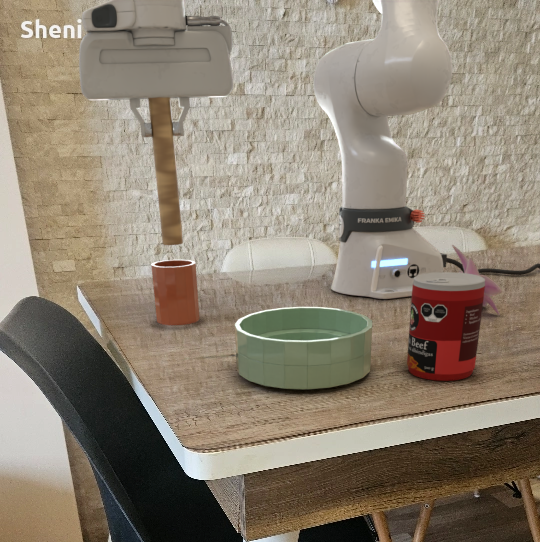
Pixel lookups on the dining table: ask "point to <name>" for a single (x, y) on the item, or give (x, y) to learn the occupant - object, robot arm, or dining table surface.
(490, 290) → the lily
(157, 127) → the stick
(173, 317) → the holder
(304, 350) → the bowl
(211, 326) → the dining table surface
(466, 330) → the canned food
